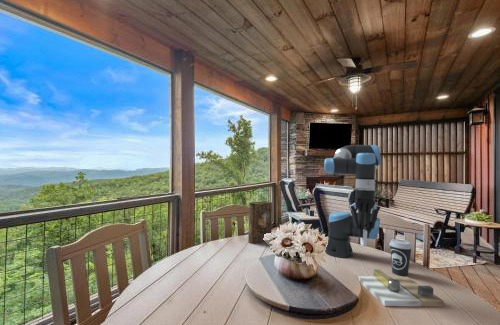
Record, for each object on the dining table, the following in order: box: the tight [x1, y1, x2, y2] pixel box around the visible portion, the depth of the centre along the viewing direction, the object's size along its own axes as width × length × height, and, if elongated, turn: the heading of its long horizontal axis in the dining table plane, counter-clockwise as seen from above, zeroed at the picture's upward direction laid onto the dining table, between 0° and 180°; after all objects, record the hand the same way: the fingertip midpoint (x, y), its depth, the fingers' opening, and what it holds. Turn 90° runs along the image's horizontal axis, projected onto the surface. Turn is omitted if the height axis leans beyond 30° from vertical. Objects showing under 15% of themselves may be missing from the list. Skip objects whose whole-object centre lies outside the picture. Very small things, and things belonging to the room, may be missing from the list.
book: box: [247, 200, 273, 245], centre depth 167 cm, size 16×6×25 cm, turn 130°
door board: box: [358, 275, 445, 307], centre depth 103 cm, size 20×22×5 cm
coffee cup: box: [388, 238, 413, 277], centre depth 122 cm, size 10×10×15 cm
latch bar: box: [373, 269, 400, 292], centre depth 106 cm, size 14×4×3 cm, turn 2°
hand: (363, 245), depth 109 cm, fingers closed
